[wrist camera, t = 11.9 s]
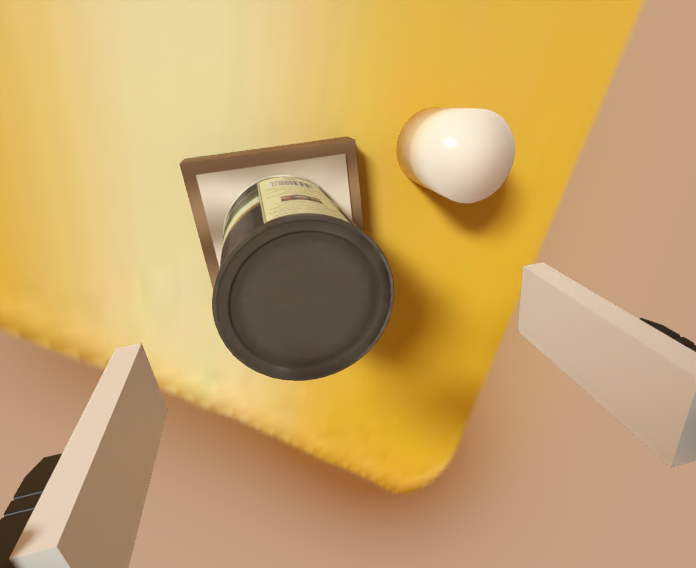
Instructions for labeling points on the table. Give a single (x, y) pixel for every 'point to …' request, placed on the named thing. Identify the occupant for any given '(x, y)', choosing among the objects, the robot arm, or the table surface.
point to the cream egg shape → (457, 152)
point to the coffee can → (298, 282)
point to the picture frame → (248, 166)
